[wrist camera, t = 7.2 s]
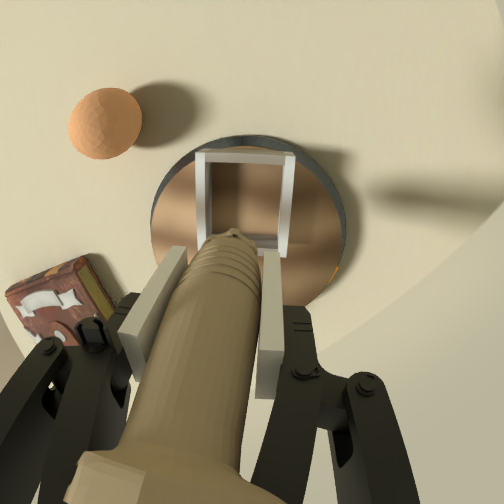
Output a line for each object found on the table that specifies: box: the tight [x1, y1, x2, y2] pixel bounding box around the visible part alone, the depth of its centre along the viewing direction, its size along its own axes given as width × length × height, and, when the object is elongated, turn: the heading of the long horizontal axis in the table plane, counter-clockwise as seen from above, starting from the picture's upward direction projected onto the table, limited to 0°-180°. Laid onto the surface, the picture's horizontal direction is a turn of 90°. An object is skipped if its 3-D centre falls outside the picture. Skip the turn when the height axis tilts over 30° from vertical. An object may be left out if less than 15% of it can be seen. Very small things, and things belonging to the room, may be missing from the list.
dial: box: [151, 146, 342, 306], centre depth 28 cm, size 20×20×6 cm
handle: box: [63, 228, 287, 504], centre depth 10 cm, size 5×6×15 cm
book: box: [5, 256, 115, 346], centre depth 38 cm, size 23×16×5 cm
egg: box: [68, 88, 142, 159], centre depth 23 cm, size 7×7×8 cm
